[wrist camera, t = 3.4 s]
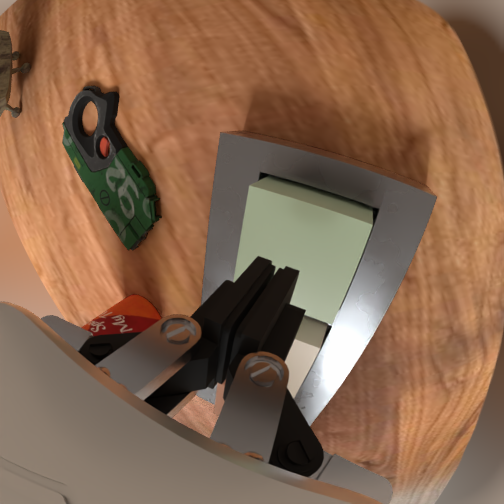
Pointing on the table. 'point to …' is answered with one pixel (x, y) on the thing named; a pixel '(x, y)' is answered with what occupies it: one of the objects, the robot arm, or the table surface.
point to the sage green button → (305, 240)
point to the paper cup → (125, 317)
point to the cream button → (304, 352)
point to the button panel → (371, 262)
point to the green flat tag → (111, 168)
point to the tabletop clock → (8, 72)
